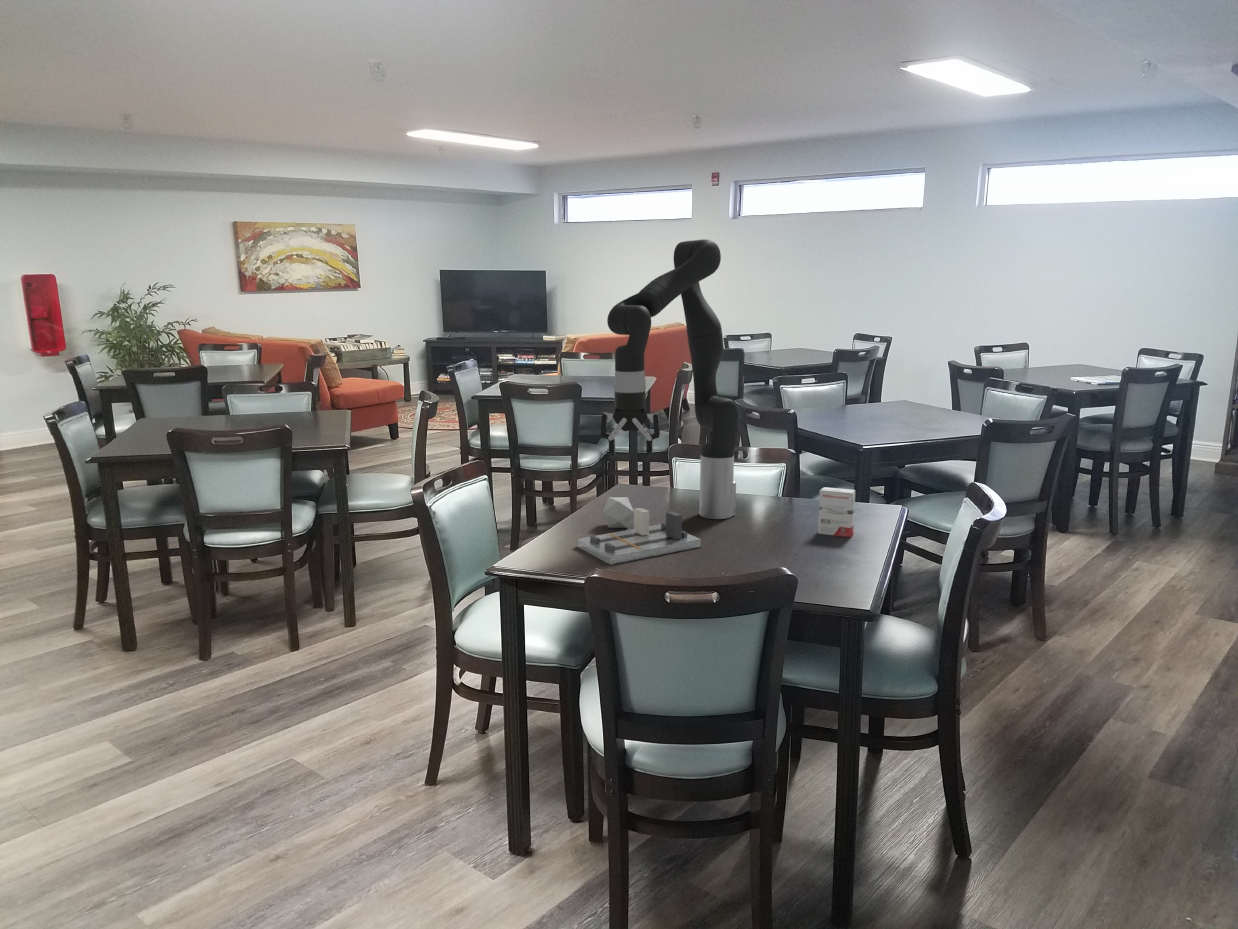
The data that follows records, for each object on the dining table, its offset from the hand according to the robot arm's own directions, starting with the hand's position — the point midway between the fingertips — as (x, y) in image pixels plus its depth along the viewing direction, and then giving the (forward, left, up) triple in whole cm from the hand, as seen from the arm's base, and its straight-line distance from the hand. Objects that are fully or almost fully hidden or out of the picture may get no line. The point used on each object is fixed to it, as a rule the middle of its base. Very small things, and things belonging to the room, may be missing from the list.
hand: (630, 455), depth 206 cm
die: (-5, -14, -23) cm, 27 cm away
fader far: (-3, 0, -20) cm, 20 cm away
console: (0, +4, -23) cm, 23 cm away
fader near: (-8, +7, -20) cm, 23 cm away
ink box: (-50, +21, -23) cm, 59 cm away
